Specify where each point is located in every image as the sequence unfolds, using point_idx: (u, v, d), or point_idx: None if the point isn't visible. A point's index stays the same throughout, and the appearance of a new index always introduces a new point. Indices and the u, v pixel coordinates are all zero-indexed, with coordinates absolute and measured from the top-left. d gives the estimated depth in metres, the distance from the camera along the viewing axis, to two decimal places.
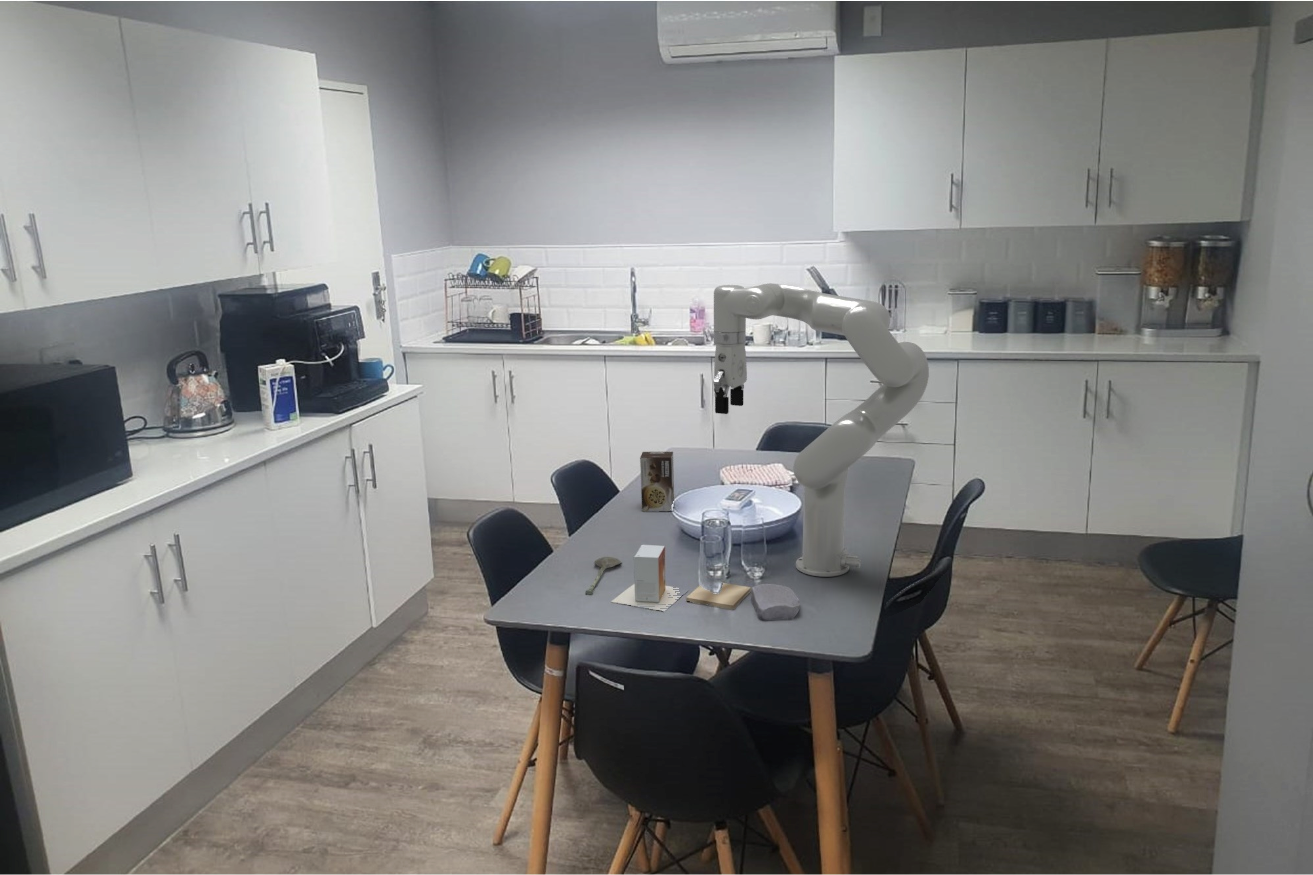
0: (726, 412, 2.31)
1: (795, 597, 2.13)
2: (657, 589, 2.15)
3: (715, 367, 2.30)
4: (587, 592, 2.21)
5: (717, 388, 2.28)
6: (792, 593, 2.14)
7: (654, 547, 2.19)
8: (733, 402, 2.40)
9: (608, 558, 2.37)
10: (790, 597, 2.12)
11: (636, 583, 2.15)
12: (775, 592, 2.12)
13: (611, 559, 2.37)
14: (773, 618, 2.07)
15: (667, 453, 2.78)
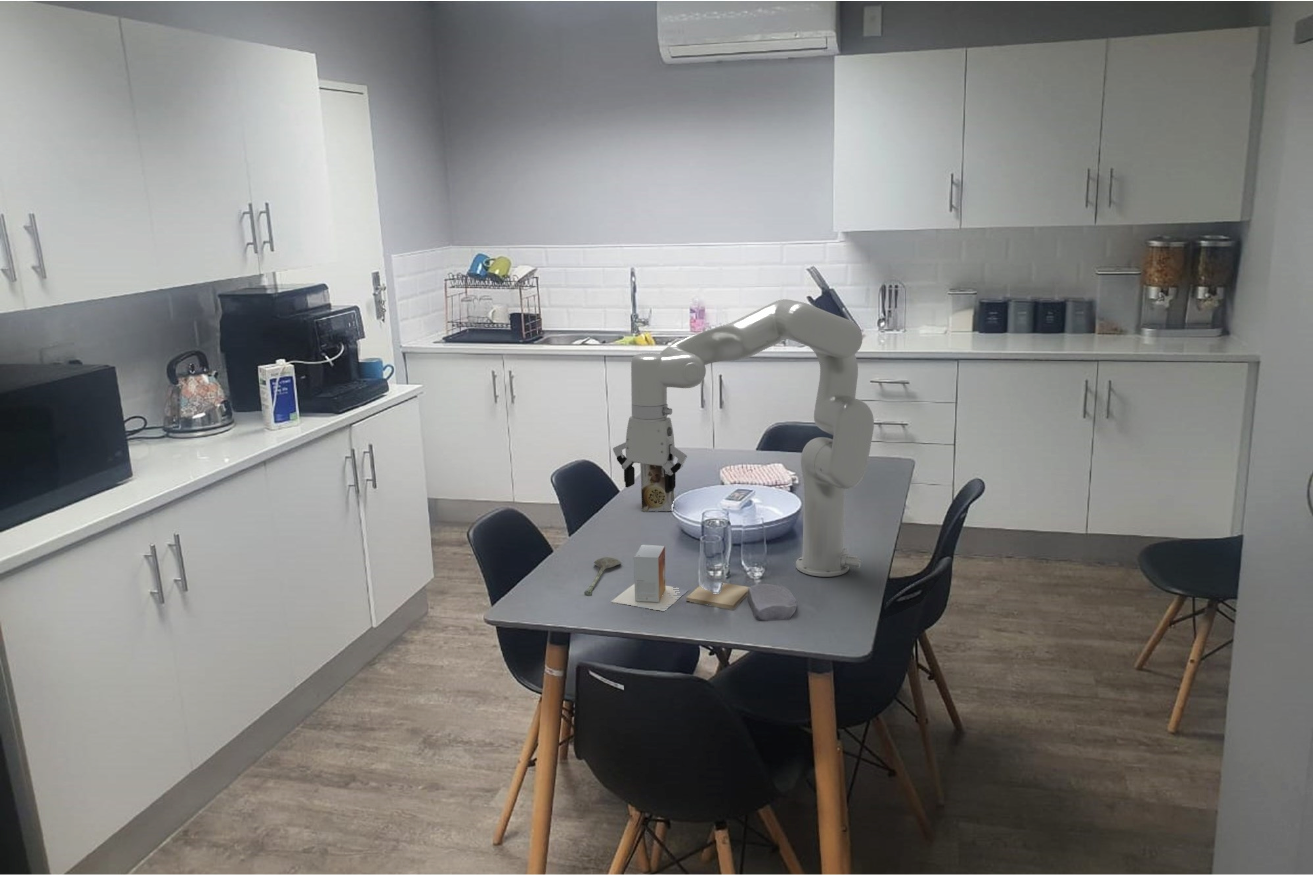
0: None
1: (792, 597, 2.13)
2: (657, 589, 2.15)
3: (665, 444, 2.08)
4: (586, 592, 2.21)
5: (683, 463, 2.09)
6: (789, 593, 2.14)
7: (654, 547, 2.19)
8: (630, 483, 2.15)
9: (608, 558, 2.37)
10: (787, 597, 2.12)
11: (636, 583, 2.15)
12: (772, 592, 2.12)
13: (611, 559, 2.36)
14: (770, 618, 2.07)
15: None
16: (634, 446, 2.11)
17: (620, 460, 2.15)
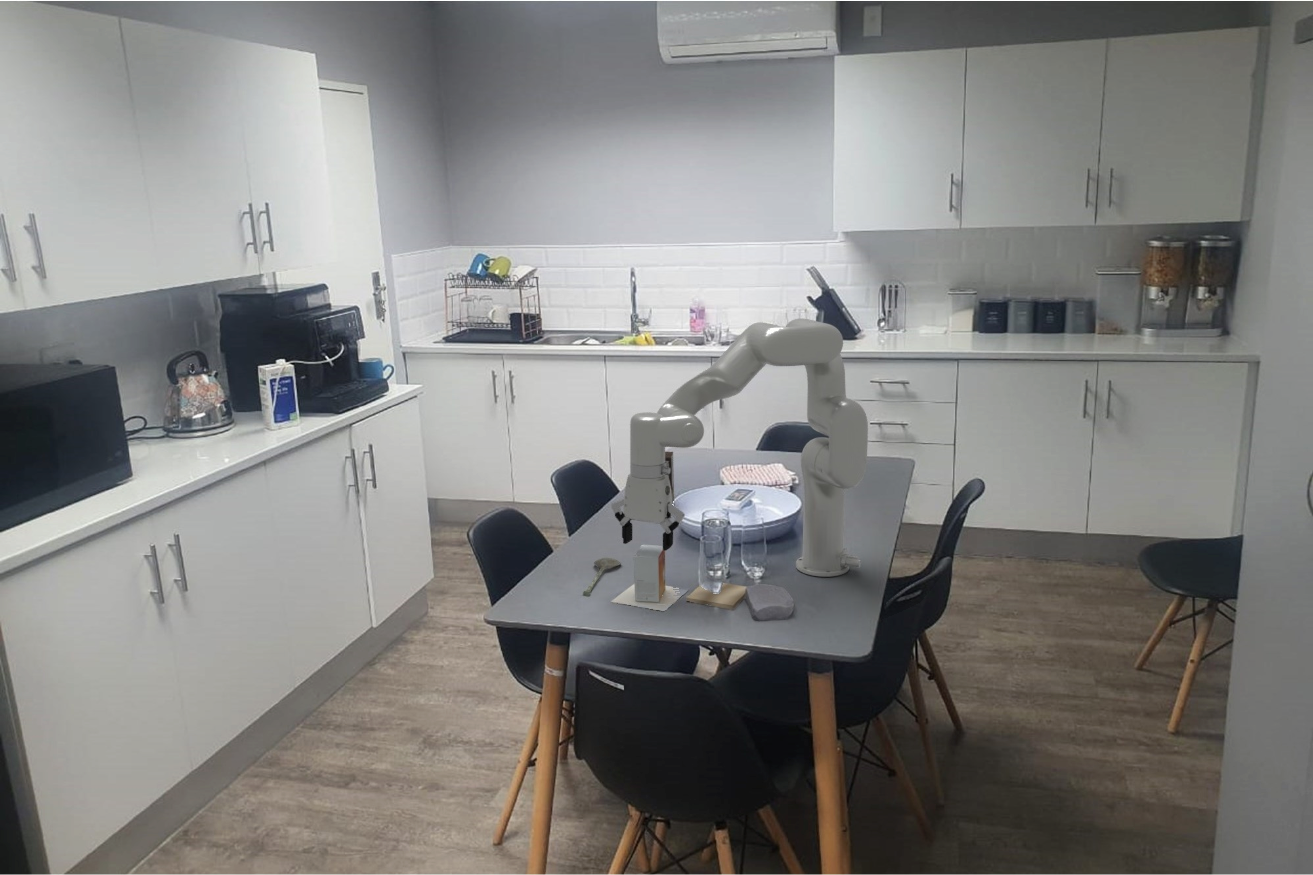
0: None
1: (789, 597, 2.13)
2: (657, 589, 2.15)
3: (664, 502, 2.11)
4: (585, 593, 2.21)
5: (680, 521, 2.12)
6: (786, 593, 2.14)
7: (654, 547, 2.19)
8: (627, 539, 2.18)
9: (607, 559, 2.36)
10: (784, 597, 2.12)
11: (636, 583, 2.15)
12: (769, 592, 2.12)
13: (610, 560, 2.36)
14: (767, 618, 2.07)
15: (667, 453, 2.78)
16: (632, 503, 2.13)
17: (618, 517, 2.17)
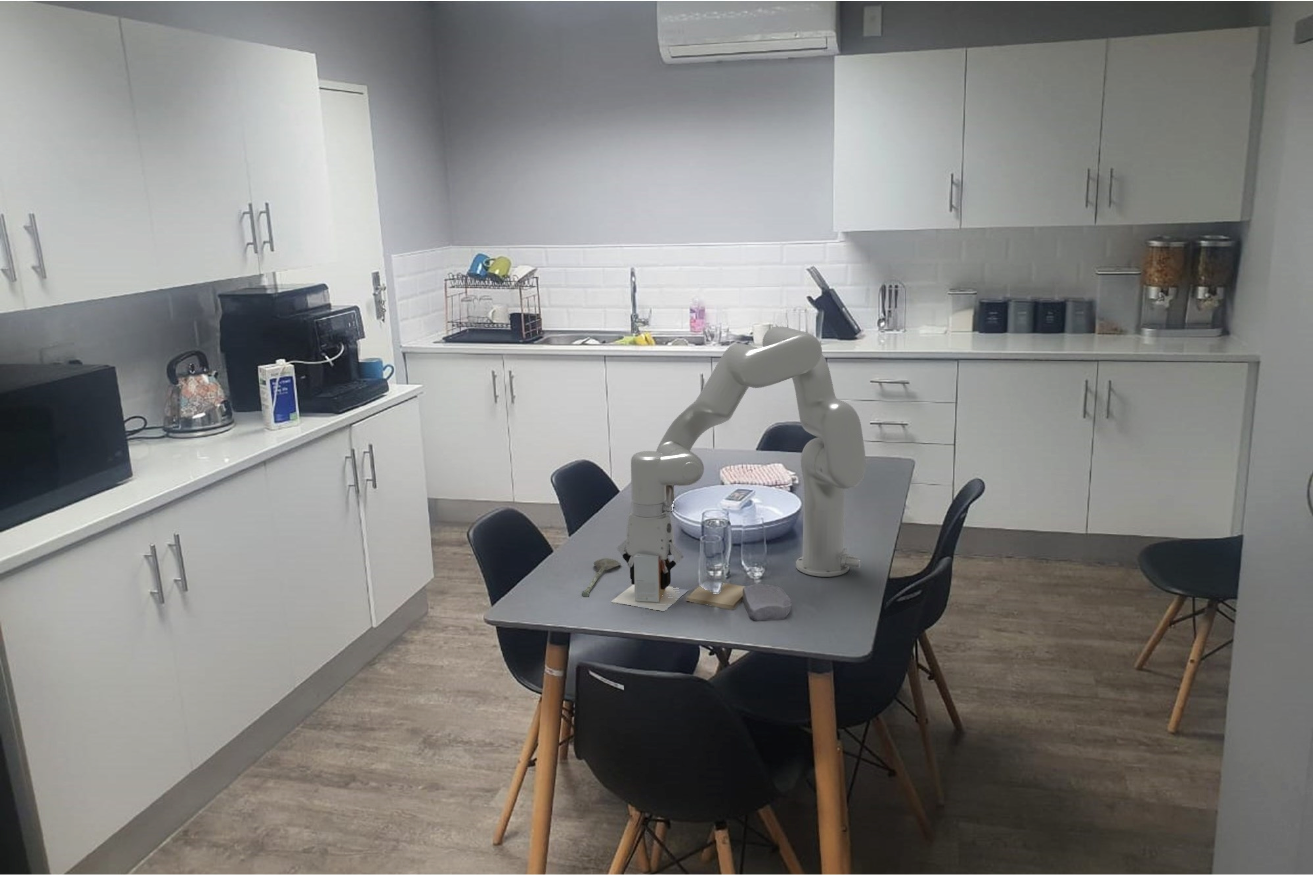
0: (668, 584, 2.18)
1: (786, 597, 2.13)
2: (657, 589, 2.15)
3: (665, 540, 2.13)
4: (583, 594, 2.20)
5: None
6: (783, 593, 2.14)
7: None
8: None
9: (607, 560, 2.36)
10: (781, 597, 2.12)
11: (636, 583, 2.15)
12: (766, 592, 2.12)
13: (610, 561, 2.36)
14: (765, 618, 2.07)
15: None
16: (634, 541, 2.16)
17: (626, 558, 2.19)
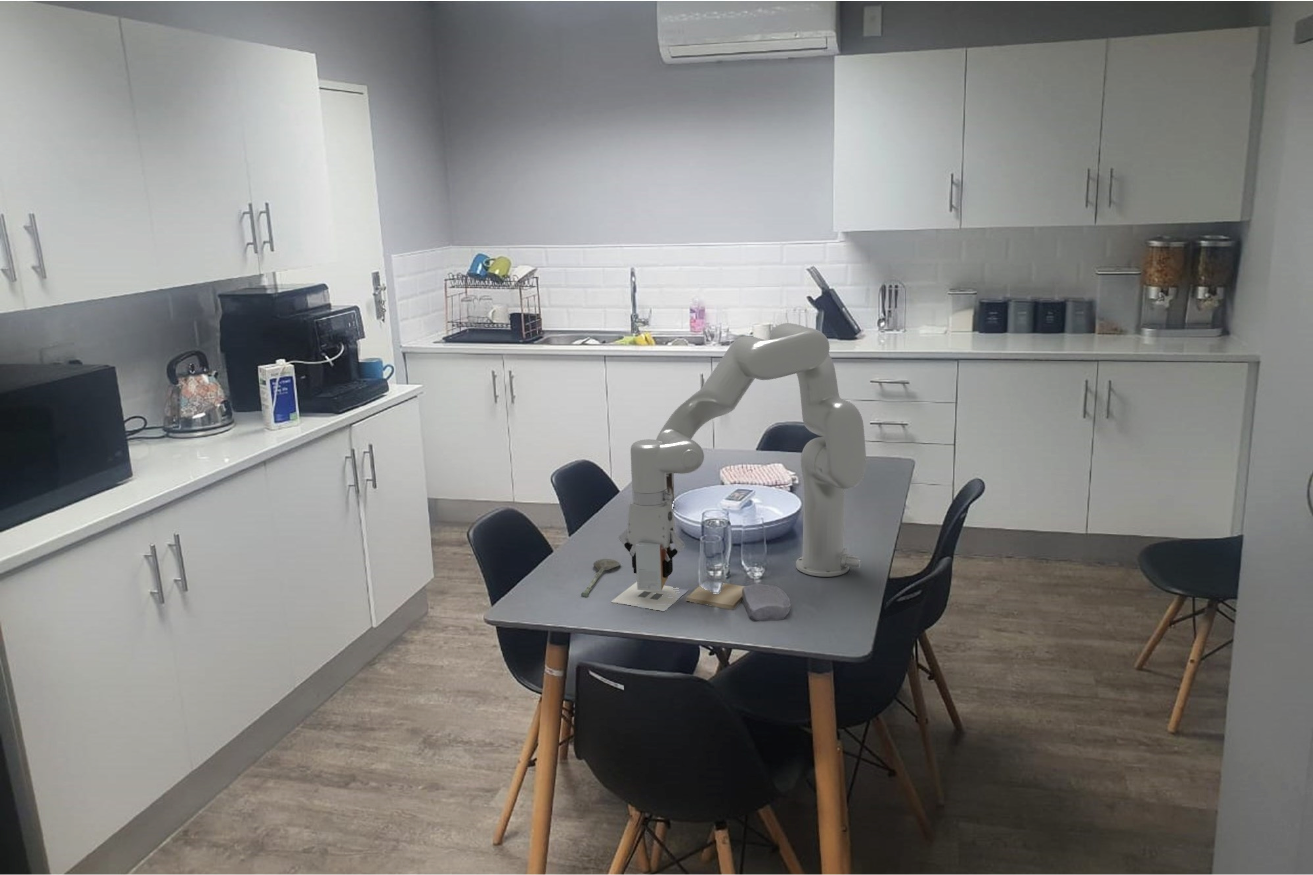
0: None
1: (786, 597, 2.13)
2: (659, 578, 2.14)
3: (667, 528, 2.12)
4: (583, 594, 2.20)
5: (679, 550, 2.14)
6: (783, 593, 2.14)
7: None
8: None
9: (607, 560, 2.36)
10: (781, 597, 2.12)
11: (638, 572, 2.15)
12: (766, 592, 2.12)
13: (610, 561, 2.35)
14: (764, 618, 2.06)
15: None
16: (636, 530, 2.15)
17: (628, 547, 2.19)
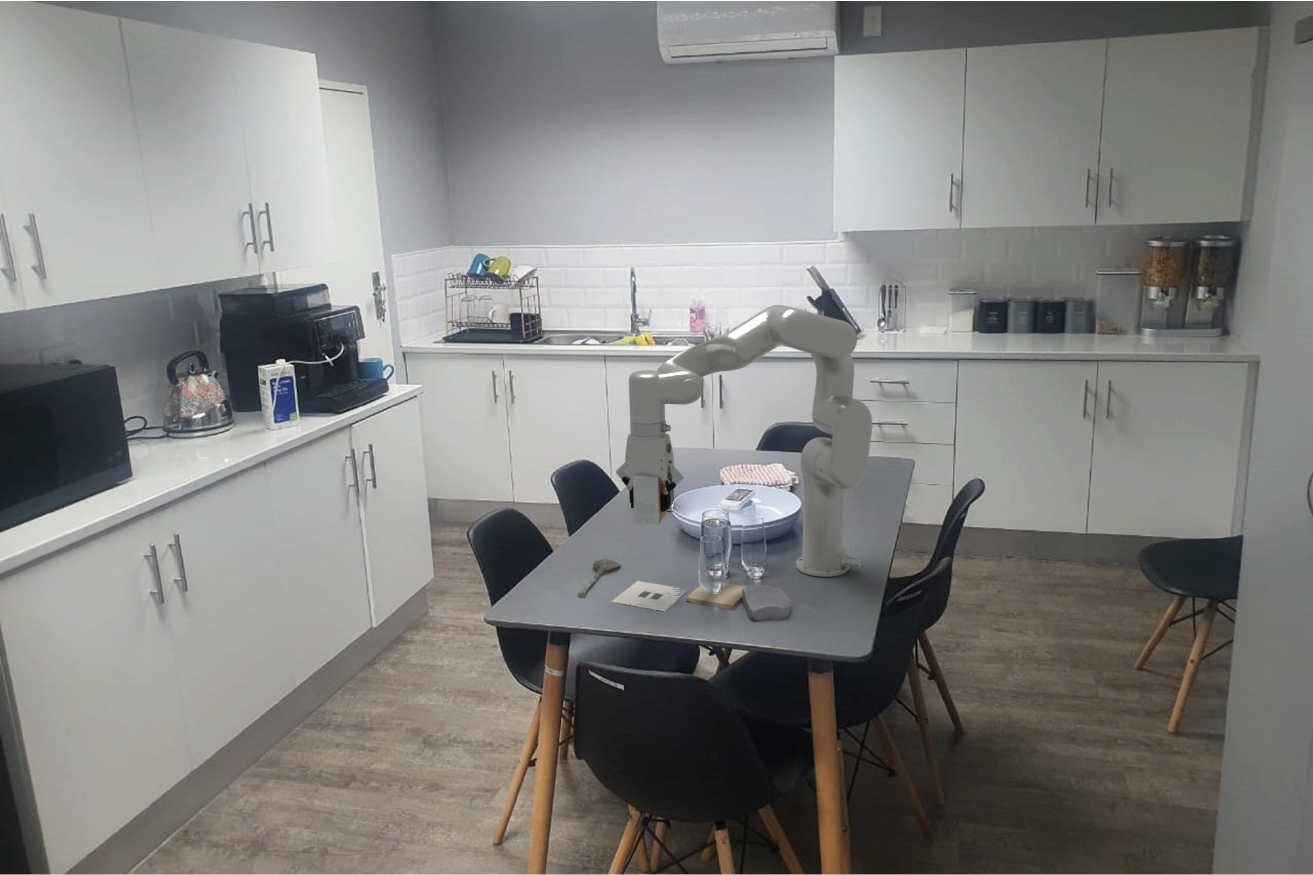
0: (668, 507, 2.14)
1: (786, 598, 2.13)
2: (657, 511, 2.11)
3: (665, 460, 2.09)
4: (580, 594, 2.20)
5: (678, 483, 2.11)
6: (783, 594, 2.14)
7: None
8: None
9: (606, 561, 2.35)
10: (781, 598, 2.12)
11: (635, 505, 2.11)
12: (766, 593, 2.12)
13: (609, 562, 2.35)
14: (764, 619, 2.06)
15: None
16: (633, 463, 2.11)
17: (625, 481, 2.15)
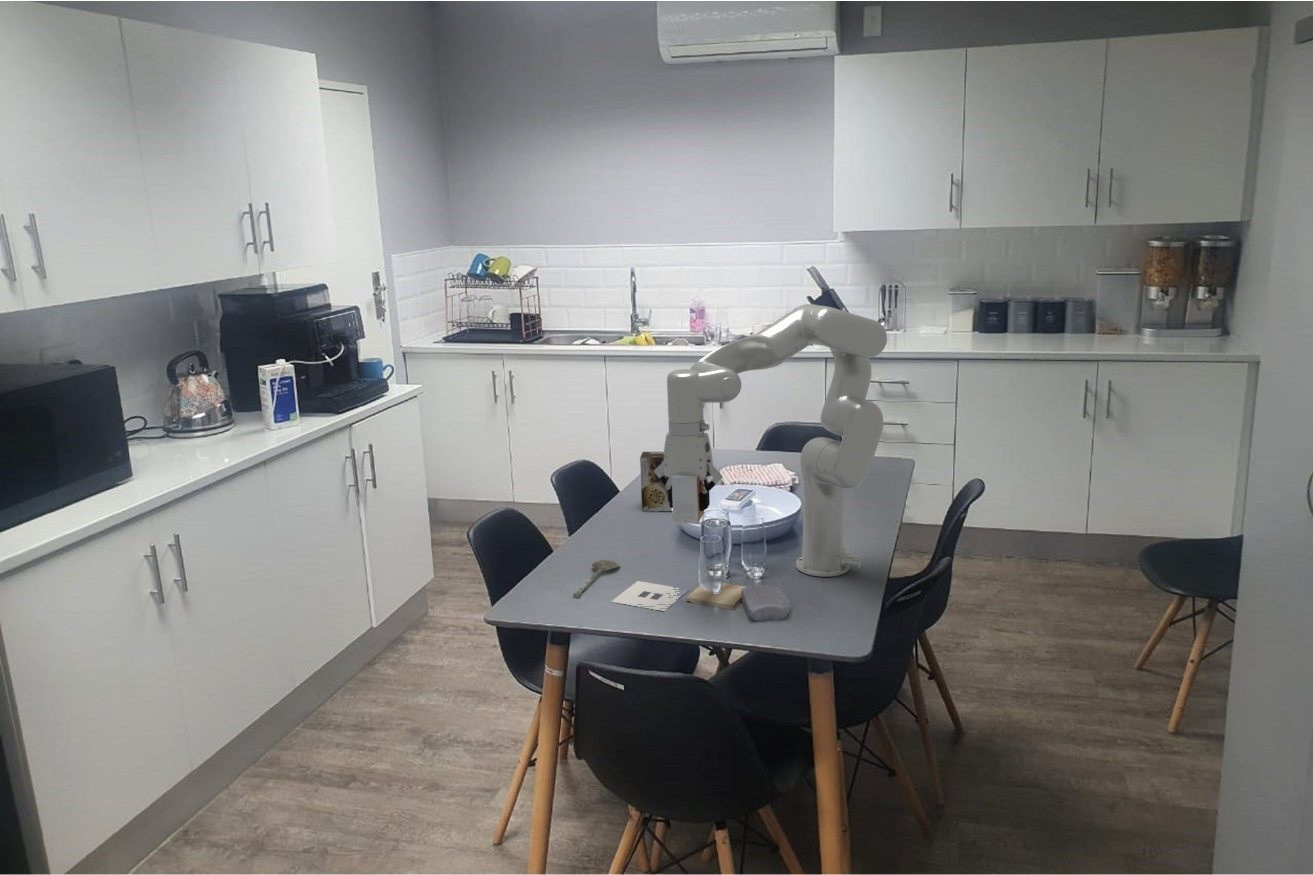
0: (707, 506, 2.14)
1: (785, 598, 2.13)
2: (696, 510, 2.10)
3: (704, 460, 2.08)
4: (575, 595, 2.20)
5: (717, 482, 2.10)
6: (782, 594, 2.14)
7: None
8: None
9: (605, 561, 2.35)
10: (780, 598, 2.12)
11: (674, 505, 2.11)
12: (765, 593, 2.12)
13: (608, 562, 2.35)
14: (763, 619, 2.06)
15: None
16: (672, 462, 2.11)
17: (663, 480, 2.15)
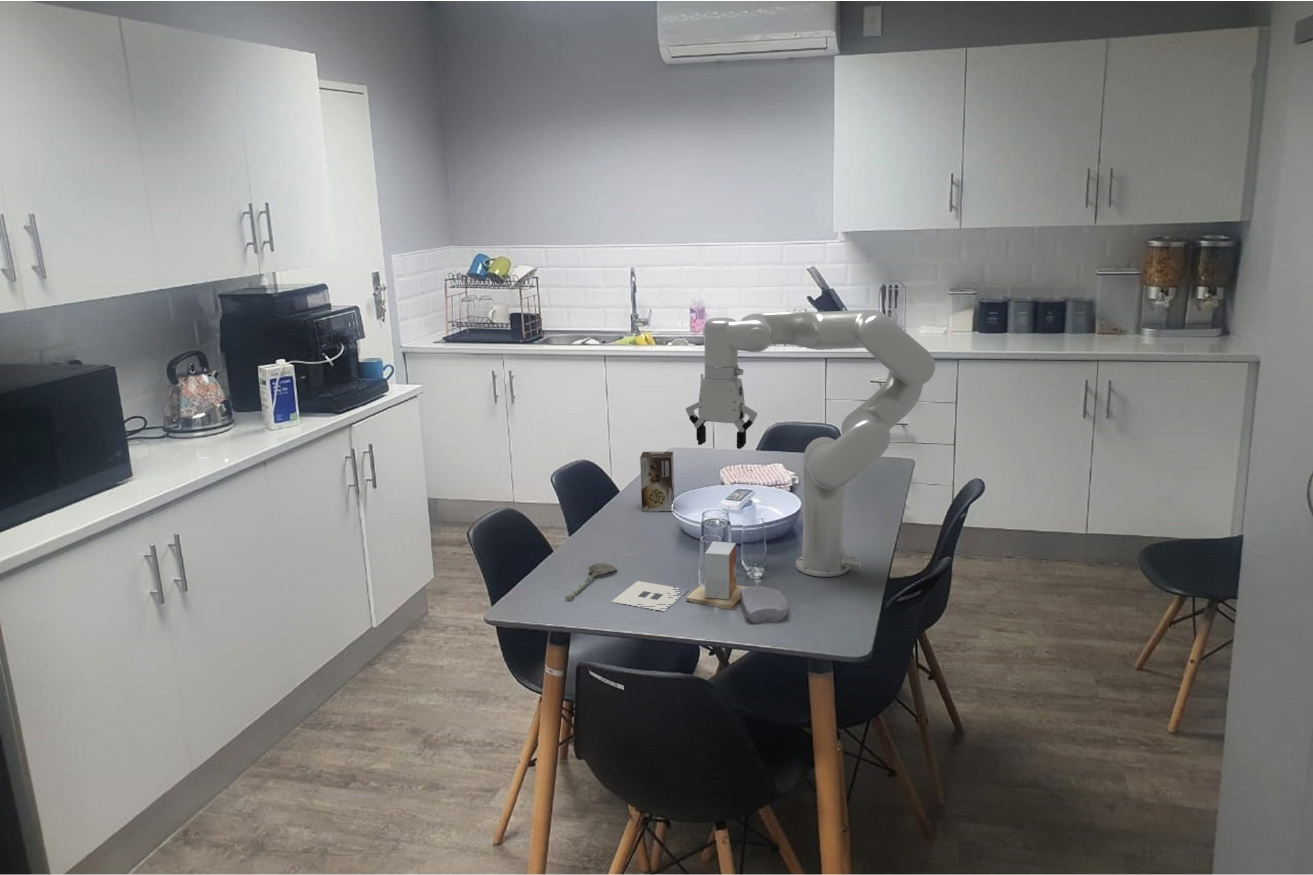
0: (743, 444, 2.27)
1: (784, 600, 2.12)
2: (727, 586, 2.14)
3: (737, 402, 2.22)
4: (567, 598, 2.18)
5: (753, 420, 2.24)
6: (781, 596, 2.13)
7: (725, 544, 2.18)
8: (702, 441, 2.29)
9: (602, 564, 2.33)
10: (779, 600, 2.11)
11: (706, 580, 2.15)
12: (764, 595, 2.11)
13: (605, 566, 2.33)
14: (761, 621, 2.05)
15: (667, 453, 2.78)
16: (707, 405, 2.25)
17: (693, 419, 2.29)
